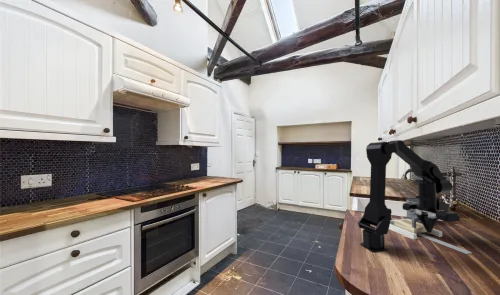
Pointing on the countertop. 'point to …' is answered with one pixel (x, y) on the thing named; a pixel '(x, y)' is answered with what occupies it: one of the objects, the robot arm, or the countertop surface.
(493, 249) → the countertop surface
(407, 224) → the beige hollow block
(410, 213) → the small box
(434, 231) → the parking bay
